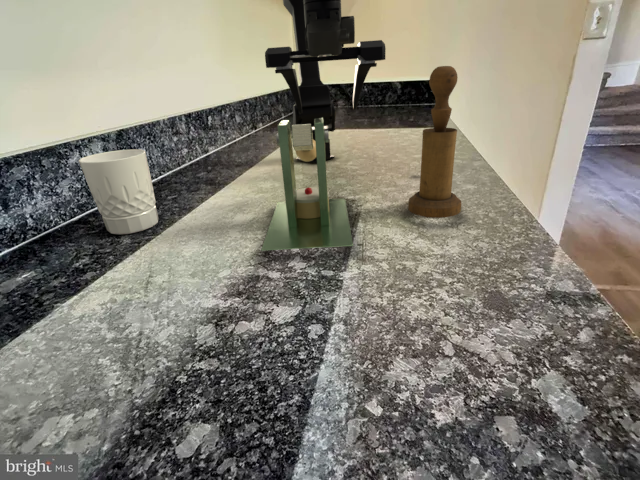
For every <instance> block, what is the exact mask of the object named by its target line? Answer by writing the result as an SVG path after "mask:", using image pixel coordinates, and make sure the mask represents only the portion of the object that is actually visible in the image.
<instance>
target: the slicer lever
mask: <svg viewBox="0 0 640 480" xmlns="http://www.w3.org/2000/svg"><path fill="white" fill-rule="evenodd" d="M312 127H313V126H311V124H299V125H293V124H291V138H292V148H293V150H294V151H295V154H296V156H297V158H299V159H301V160H303V161H302V162H304V161H307V162H306V163H309V162H308V161H312V160H314V159H315V158H316V142H315V140H313V134H312Z"/></svg>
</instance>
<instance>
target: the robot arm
mask: <svg viewBox="0 0 640 480" xmlns="http://www.w3.org/2000/svg"><path fill="white" fill-rule="evenodd" d="M282 5H283V7H284V8H285V10H286V11H287V12H288V13H289V15H291V19H292V26H293V34H294V42H295V50H293V49H292V47H291V46H278V47H277V46H276V47H267V49H266V50H265V51H264V60H265V67H266V69H274V73H275V74H281V76H282V77H283V79H284V80H285V82H286V84H287V86H288V88H289V90H290V92H291V95H292V98H293V100H294V103H295V104H293V105H292V125H299V124H311V126H312V134H313V140H315V127H314V123H315V119H316V118H323V120H324V130H328V132H335V131H336V116H337V108H336V107H335V104H334V102H333V101H331V94H330V93H331V92H330V87H329V86H328V85H327V84H324V83H323V81H322V80H321V73H320V63H319V62H331V61H344V60H346V61H347V60H357V64H355V67H354V80H353V93H352V110H353V111H356V110H357V108H358V105H359V101H360V97H361V93H362V90H363V86H364V83H365V81H366V78H367V75H368V73H369V72H370V70H371V68H375V67H376V68H377V66H378V63H377V62H378V61H379V62H380V61H385V60H386V49H387V48H386V43H385V42H384V41H383V40H382V39H377V40H363V41H359V42H358V43H357V45H356V46H347V47H344V46H345V45H351V44H355V39H356V37H355V36H356V33H355V32H356V29H355V28H356V27H355V26H356V25H355V15H345V16H342V0H282ZM294 64H297V68H298V75H297V71H296V68H293V66H294ZM297 76H299V82H298V77H297ZM325 156H326V161H329V160H333V159H335V158H336V157H335V155H332V154H331V139H330V138H329V142H326V143H325ZM295 159H296V161H299V162H305V163H309V164H317V157H316V158H315V159H314V160H312V161H308V162H307V161H303V160H301V159H299V158H298V157H296V158H295Z"/></svg>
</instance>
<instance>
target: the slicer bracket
mask: <svg viewBox="0 0 640 480" xmlns="http://www.w3.org/2000/svg"><path fill="white" fill-rule="evenodd" d="M324 126H325V125H324V120H323V118H316V119H315V123H314V126H313V127H315V142H316V157H317V163H316V170H317V173H316V174H317V186H318V187H317V188H319V203H320V217H318V218H313V219H301V218H298V212H297V202H296V198H297V192H296V190H297V184H296V183H297V182H296V172H295V162H294V161H295V160H294V151H293V150H294V147H293V142H292V126H291V119H283V120H281V121H280V122H279V123H278V124H277V132H276V133H275V141H276V145H277V146H279V152H280V162H281V170H282V179H283V190H284V199H285V201H277V203H276V206H275V208H274V212H273V215H272V217H271V220H270V223H269V227H268V228H267V232H266V235H265V238H264V241H263V244H262V247H261V250H260V251H264V252H265V251H281V250H299V249H318V248H338V247H354V241H353V237H352V231H351V225H350V219H349V214H348V208H347V202H346V198H345V197H344V198H343V197H342V198H329V211H328V192H327V190H328V179H327V178H328V177H327V160H326V156H325V143H326V142H329V139H330V137H329V136H330V133H329V131H328V130H324Z"/></svg>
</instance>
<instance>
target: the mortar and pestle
mask: <svg viewBox="0 0 640 480" xmlns="http://www.w3.org/2000/svg"><path fill="white" fill-rule="evenodd" d="M458 79H459V78H458V72H457V70H456V68H454V67H453V66H451V65H439V66H437V67H435V68H434V69H433V70H432V72H431V73H430V76H429V79H428V83H429V84H428V85H429V87H430V89H431V92H432V94H433V96H434V98H435V99H434V100H435V103H434V107H432V108H431V109H430V113H431V118H432V123H433V127H430V128H424V129H422V137H421V139H422V143H421V158H420V159H421V161H420V162H421V163H420V176H419V178H420V179H419V191H417V192H415V193H414V194H413V195H412V196H410V197H409V198H408V201H407V202H408V203H407V209H408V211H409V212H410V213H412V214H414V215H417V216H419V217H424V218H437V219H438V218H439V219H440V218H449V217H454V216H457V215H459V214H460V213H461V211H462V200H461V199H460V198H459V197H458V196H457V194H455V193H454V192H452V190H453V176H454V165H455V155H456V145H457V136H458V129H457V128H453V127H448V124H449V121H450V118H451V115H452V110H453V108H452V107H451V106H450V103H449V100H450V96H451V94H452V92H453V91H454V89H455V87H456V86H457V83H458Z"/></svg>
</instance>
